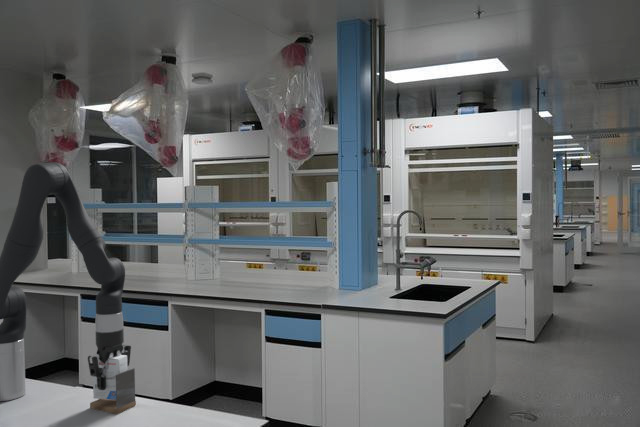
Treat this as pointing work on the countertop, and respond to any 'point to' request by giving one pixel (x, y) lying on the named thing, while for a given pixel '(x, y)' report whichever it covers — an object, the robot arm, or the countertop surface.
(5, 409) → the countertop surface
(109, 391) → the ink box
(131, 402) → the wooden base bookend
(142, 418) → the countertop surface
